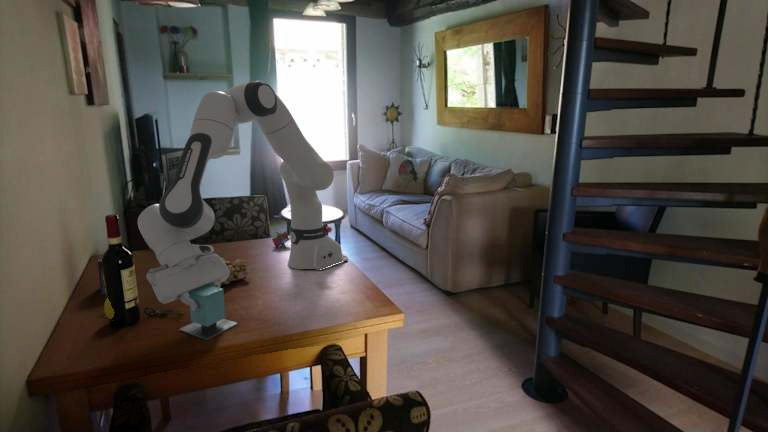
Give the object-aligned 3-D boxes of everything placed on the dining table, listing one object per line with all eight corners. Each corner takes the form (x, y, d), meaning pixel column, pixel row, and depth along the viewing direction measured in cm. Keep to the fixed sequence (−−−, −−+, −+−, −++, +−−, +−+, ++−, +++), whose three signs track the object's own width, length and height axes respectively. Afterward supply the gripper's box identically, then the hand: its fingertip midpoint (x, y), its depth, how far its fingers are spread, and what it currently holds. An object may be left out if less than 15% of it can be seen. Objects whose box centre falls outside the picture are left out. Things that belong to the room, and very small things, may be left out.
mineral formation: (218, 291, 143) (191, 277, 152) (253, 285, 154) (226, 273, 163) (221, 266, 142) (194, 253, 151) (257, 262, 153) (230, 250, 162)
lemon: (112, 317, 124) (109, 289, 122) (133, 316, 125) (131, 288, 123) (101, 326, 119) (98, 297, 117) (124, 326, 119) (121, 297, 118)
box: (122, 292, 141) (118, 258, 139) (100, 294, 139) (96, 261, 136) (123, 283, 148) (120, 251, 146) (103, 286, 146) (99, 253, 143)
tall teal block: (209, 313, 123) (207, 284, 121) (225, 318, 120) (223, 289, 118) (191, 321, 118) (188, 291, 116) (206, 326, 115) (205, 296, 114)
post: (211, 315, 126) (209, 294, 125) (237, 324, 122) (236, 302, 120) (179, 330, 118) (177, 307, 116) (206, 340, 113) (205, 316, 112)
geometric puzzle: (273, 246, 184) (283, 228, 186) (265, 242, 189) (275, 225, 191) (286, 254, 189) (296, 237, 190) (278, 249, 194) (288, 233, 196)
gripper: (148, 264, 110) (178, 312, 107) (216, 244, 127) (244, 284, 125) (137, 278, 113) (167, 325, 110) (206, 257, 130) (233, 296, 128)
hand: (208, 303), depth 118 cm, fingers closed on tall teal block, 6 cm apart
